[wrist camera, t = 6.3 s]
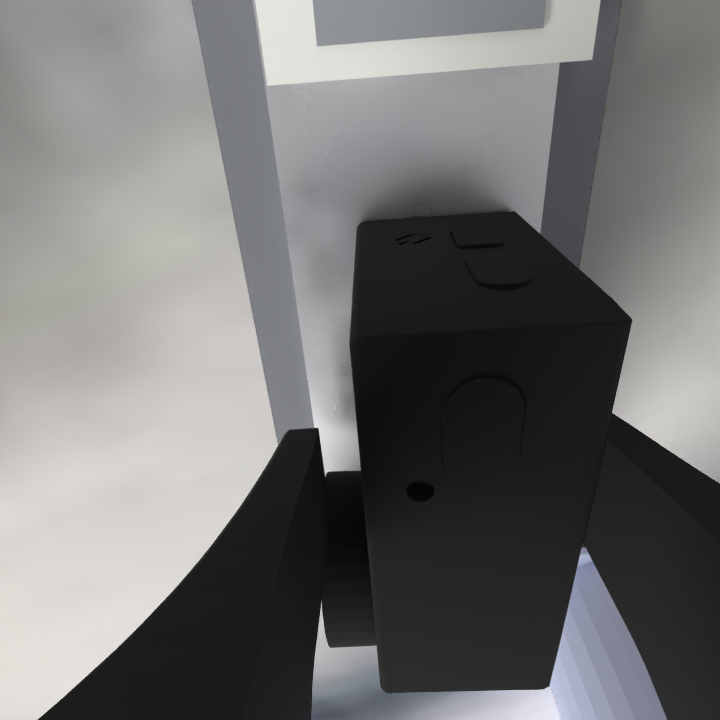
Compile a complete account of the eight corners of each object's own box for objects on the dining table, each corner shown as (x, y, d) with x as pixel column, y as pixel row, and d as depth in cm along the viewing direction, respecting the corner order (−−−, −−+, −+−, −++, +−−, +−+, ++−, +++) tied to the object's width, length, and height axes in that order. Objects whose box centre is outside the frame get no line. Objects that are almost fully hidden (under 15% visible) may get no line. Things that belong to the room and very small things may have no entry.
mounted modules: (558, -140, 10) (636, -221, 7) (491, 556, 20) (513, 630, 18) (261, -114, 10) (227, -184, 7) (346, 565, 21) (345, 640, 18)
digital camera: (312, 219, 13) (269, 338, 7) (514, 205, 13) (639, 317, 7) (344, 496, 19) (334, 699, 13) (490, 490, 18) (551, 694, 12)
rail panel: (630, -183, 11) (671, -222, 9) (525, 539, 22) (537, 569, 21) (175, -143, 11) (150, -174, 10) (304, 551, 22) (301, 583, 21)
